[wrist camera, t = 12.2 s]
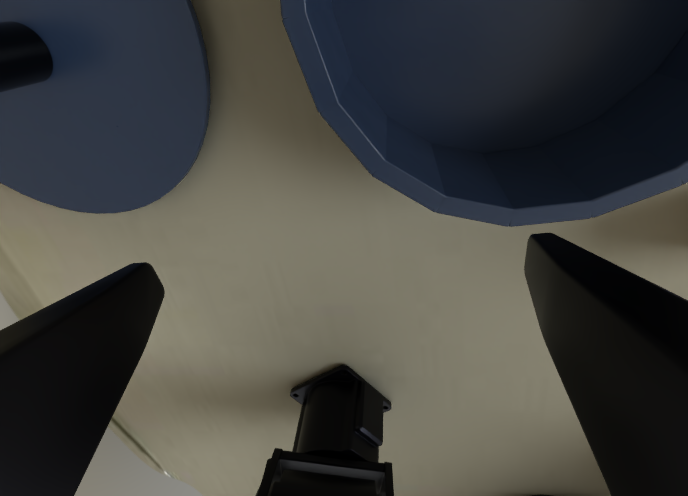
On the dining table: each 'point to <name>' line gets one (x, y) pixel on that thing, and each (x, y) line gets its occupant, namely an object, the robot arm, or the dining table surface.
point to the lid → (100, 100)
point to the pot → (504, 99)
